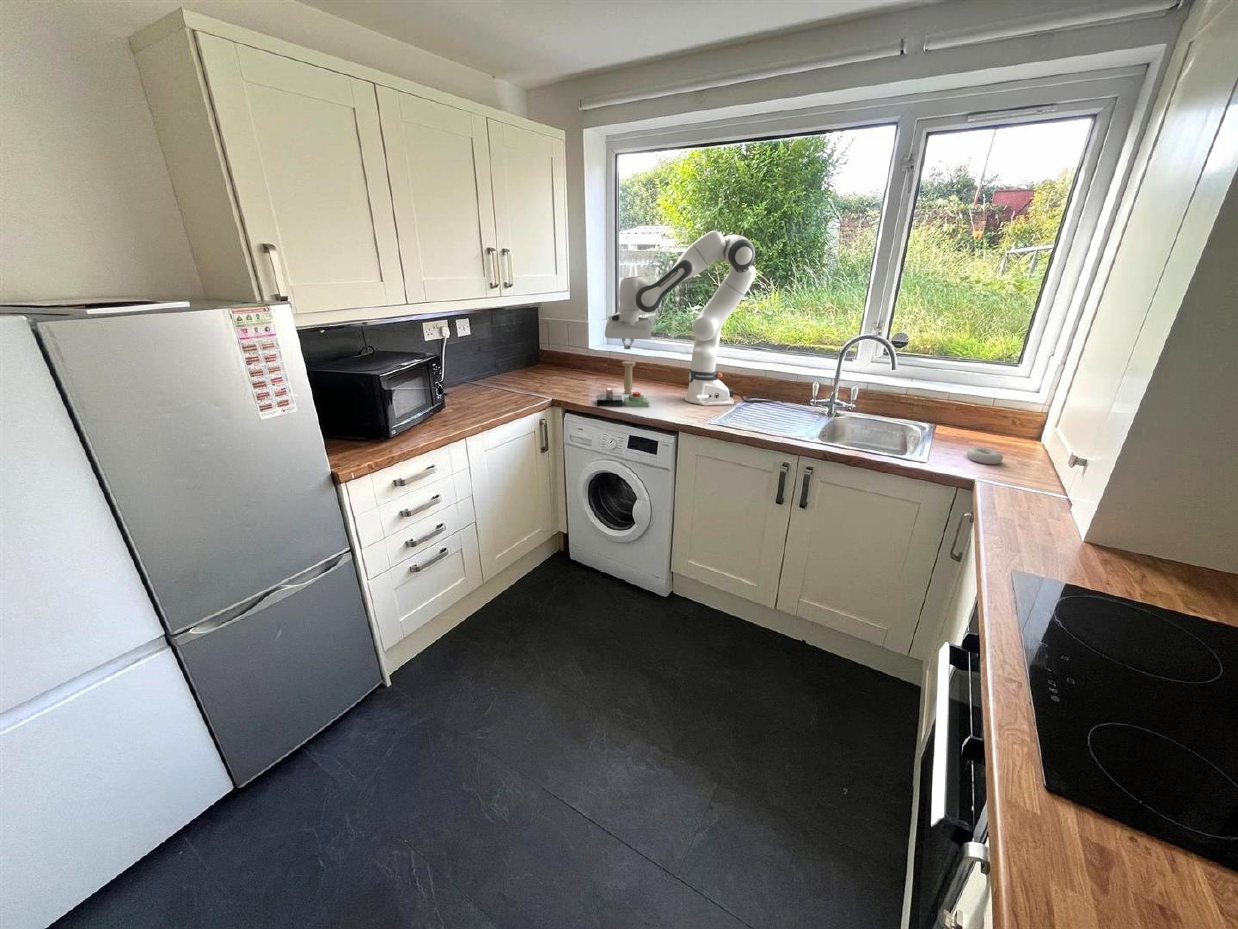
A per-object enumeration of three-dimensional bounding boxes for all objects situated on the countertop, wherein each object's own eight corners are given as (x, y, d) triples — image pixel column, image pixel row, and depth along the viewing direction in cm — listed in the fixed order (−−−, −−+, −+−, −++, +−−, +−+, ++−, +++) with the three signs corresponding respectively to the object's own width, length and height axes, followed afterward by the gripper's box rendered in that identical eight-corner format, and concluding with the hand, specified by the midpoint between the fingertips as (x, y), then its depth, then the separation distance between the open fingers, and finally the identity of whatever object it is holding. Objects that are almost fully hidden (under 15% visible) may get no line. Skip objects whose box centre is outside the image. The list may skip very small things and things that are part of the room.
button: (640, 395, 222) (640, 391, 222) (640, 397, 219) (641, 393, 218) (631, 395, 222) (632, 391, 221) (632, 397, 219) (632, 393, 218)
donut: (987, 467, 162) (1008, 464, 165) (990, 457, 160) (1011, 454, 163) (958, 457, 170) (979, 454, 173) (961, 447, 169) (982, 444, 172)
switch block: (646, 402, 226) (646, 393, 224) (648, 406, 218) (648, 398, 217) (624, 402, 225) (624, 393, 224) (625, 406, 218) (625, 397, 216)
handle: (635, 394, 240) (637, 362, 235) (623, 394, 238) (624, 363, 232) (631, 391, 244) (633, 361, 239) (619, 392, 242) (620, 361, 237)
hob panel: (620, 401, 226) (620, 394, 225) (622, 407, 216) (622, 400, 215) (596, 400, 225) (596, 394, 224) (597, 406, 216) (597, 399, 215)
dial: (606, 395, 222) (606, 387, 221) (609, 395, 223) (609, 387, 221) (608, 398, 217) (609, 390, 215) (612, 398, 217) (612, 390, 216)
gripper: (651, 316, 218) (649, 348, 224) (605, 315, 217) (604, 347, 222) (653, 317, 213) (651, 350, 218) (605, 316, 211) (605, 349, 216)
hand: (627, 349), depth 220 cm, fingers closed
